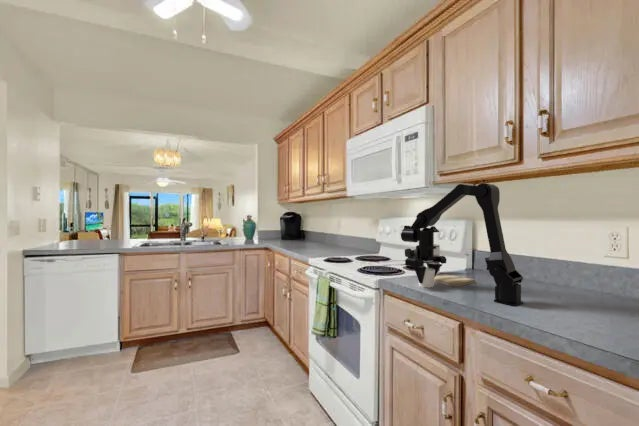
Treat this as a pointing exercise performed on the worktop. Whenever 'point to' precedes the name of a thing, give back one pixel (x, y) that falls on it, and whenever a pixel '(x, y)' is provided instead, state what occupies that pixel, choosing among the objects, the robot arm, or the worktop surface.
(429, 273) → the white short cylinder
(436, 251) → the syrup box
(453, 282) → the birch board
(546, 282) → the worktop surface
